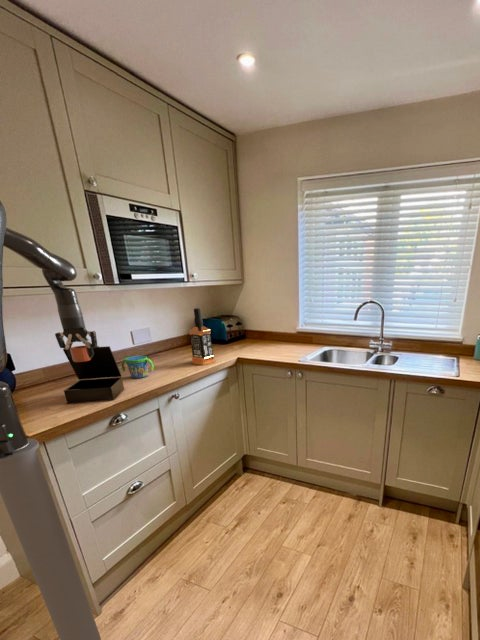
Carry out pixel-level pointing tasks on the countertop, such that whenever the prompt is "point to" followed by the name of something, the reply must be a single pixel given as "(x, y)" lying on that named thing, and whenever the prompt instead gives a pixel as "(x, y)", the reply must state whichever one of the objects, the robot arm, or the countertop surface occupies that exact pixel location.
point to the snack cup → (137, 366)
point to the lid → (96, 364)
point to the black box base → (94, 390)
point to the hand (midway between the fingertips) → (81, 357)
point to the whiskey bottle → (201, 341)
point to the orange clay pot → (80, 353)
